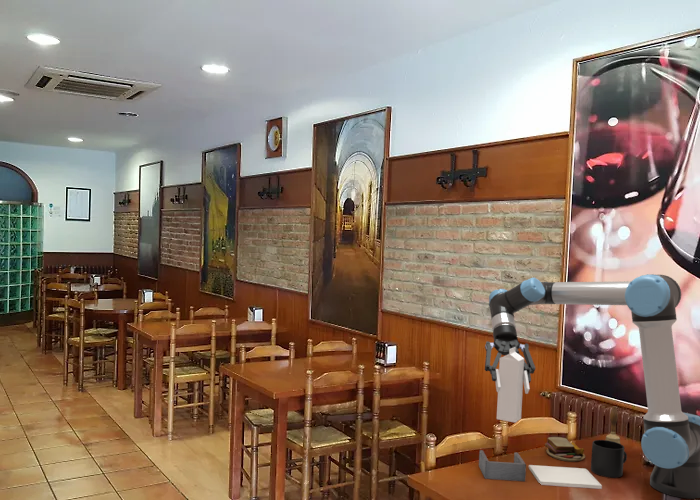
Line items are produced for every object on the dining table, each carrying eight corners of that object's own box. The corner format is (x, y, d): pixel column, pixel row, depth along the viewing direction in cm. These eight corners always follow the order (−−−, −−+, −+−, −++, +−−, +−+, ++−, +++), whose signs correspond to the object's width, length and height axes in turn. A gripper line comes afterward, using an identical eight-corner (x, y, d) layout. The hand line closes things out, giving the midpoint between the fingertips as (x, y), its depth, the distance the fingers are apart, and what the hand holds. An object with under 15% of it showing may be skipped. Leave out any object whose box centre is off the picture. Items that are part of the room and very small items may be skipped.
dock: (516, 468, 201) (517, 452, 201) (525, 481, 190) (526, 464, 190) (478, 465, 201) (479, 450, 201) (484, 478, 190) (485, 462, 190)
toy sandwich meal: (554, 462, 209) (555, 448, 209) (539, 449, 223) (540, 435, 223) (591, 463, 210) (592, 449, 210) (573, 450, 224) (574, 436, 224)
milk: (521, 418, 197) (525, 348, 197) (515, 423, 192) (519, 350, 192) (502, 415, 200) (506, 345, 200) (495, 419, 195) (500, 347, 195)
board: (585, 471, 201) (585, 468, 201) (601, 488, 187) (601, 485, 187) (528, 468, 202) (528, 464, 202) (540, 484, 188) (540, 481, 188)
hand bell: (595, 450, 224) (598, 405, 224) (606, 446, 230) (608, 402, 229) (618, 457, 218) (621, 411, 218) (629, 452, 224) (631, 407, 223)
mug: (636, 477, 199) (637, 448, 199) (603, 478, 196) (605, 449, 196) (615, 466, 208) (617, 438, 208) (584, 467, 205) (586, 440, 205)
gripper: (533, 338, 211) (544, 398, 195) (470, 335, 211) (476, 395, 196) (538, 325, 206) (550, 385, 190) (474, 321, 206) (480, 381, 190)
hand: (513, 390), depth 193 cm, fingers closed on milk, 8 cm apart
